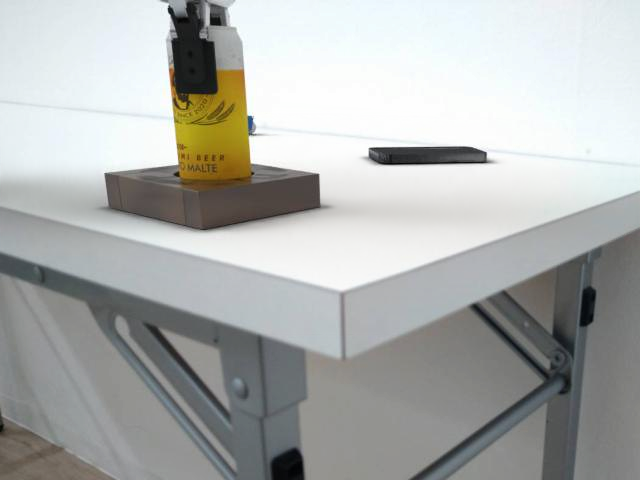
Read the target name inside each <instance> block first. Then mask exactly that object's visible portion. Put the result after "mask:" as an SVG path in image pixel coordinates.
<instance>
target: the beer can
mask: <svg viewBox="0 0 640 480" xmlns="http://www.w3.org/2000/svg"><path fill="white" fill-rule="evenodd" d="M169 27H170V24H169ZM237 30H238V29H237V27H236V26H231V27H228V26H210V37H209V41H214V44H215V57H216V69H217V81H218V92H217V93H216V94H213V95H206V94H180V93H178V92H177V90H176V83H175V73H174V63H173V53H172V43H171V40H172V38H171V35H170V28H169V29H168V33H167V35H166V38H165V47H166V57H167V66H168V76H169V83H170V84H169V86H170V94H171V95H170V96H171V105H172V115H173V125H174V134H175V144H176V152H177V153H176V154H177V162H178V164H177V165H179V174H180V178H185V179H199V180H219V179H235V178H242V177H248V176H251V161H252V160H251V149H250V148H251V147H250V134H249V131H248V117H247V116H248V105H247V89H246V75H245V74H246V73H245V62H244V59H245V58H244V47H243V40H242V38H241V37H240V35H239V32H238V31H237Z"/></svg>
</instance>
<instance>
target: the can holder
mask: <svg viewBox="0 0 640 480" xmlns="http://www.w3.org/2000/svg"><path fill="white" fill-rule="evenodd" d="M320 180H321V179H320V173H316V172H310V171H303V170H297V169H291V168H284V167H280V166H279V167H277V166H273V165H265V164H258V163H251V176H248V177H242V178H235V179H219V180H199V179H185V178H180V174H179V164H173V165H172V164H171V165H163V166H155V167H146V168H138V169H137V168H136V169H129V170H128V169H127V170H119V171H110V172H104V182H105V190H106V198H107V203H108V208H109V209H110V208H111V209H114V210H119V211H123V212H127V213H132V214H135V215H140V216H144V217H148V218H153V219H155V220H156V219H157V220H161V221H165V222H169V223H173V224H174V223H175V224H178V225H182V226H186V227H191V228H195V229H198V230H207V229H212V228H213V229H214V228H218V227H222V226H223V227H224V226H227V225H233V224H238V223H243V222H248V221H253V220H258V219H265V218H268V217H269V218H270V217H273V216H278V215H284V214H285V215H286V214H289V213H294V212H299V211H300V212H301V211H306V210H311V209H315V208H320V207H321V184H320V183H321V182H320Z"/></svg>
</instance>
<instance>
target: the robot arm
mask: <svg viewBox="0 0 640 480" xmlns="http://www.w3.org/2000/svg"><path fill="white" fill-rule="evenodd" d="M157 1H158V2H160V3H164V4H168V5H167V13H168V15H169V25H170V26H169V29H170V35H171V38H172V40H171V43H172V53H173V63H174V73H175V83H176V90H177V92H178V93H180V94H206V95H213V94H216V93H217V92H218V81H217V69H216V57H215V44H214V41H209V37H210V26H228V27H232V26H231V20H230V13H229V8H230V7H231V6H233V5H234V4H235V2H236V0H157Z"/></svg>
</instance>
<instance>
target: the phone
mask: <svg viewBox="0 0 640 480" xmlns="http://www.w3.org/2000/svg"><path fill="white" fill-rule="evenodd" d="M368 157H369V158H370V159H372V160H374V161H376V162H377V163H381V164H417V163H419V164H420V163H423V164H426V163H473V162H474V163H475V162H476V163H477V162H487V160H488V151H486V150H481V149H478V148H476V147H473V146H463V145H462V146H461V145H460V146H452V145H451V146H449V145H448V146H372V147H368Z"/></svg>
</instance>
